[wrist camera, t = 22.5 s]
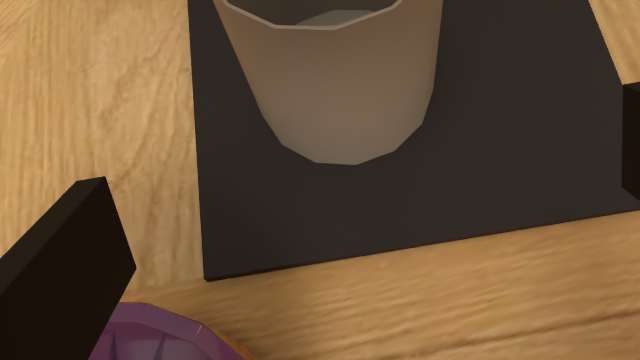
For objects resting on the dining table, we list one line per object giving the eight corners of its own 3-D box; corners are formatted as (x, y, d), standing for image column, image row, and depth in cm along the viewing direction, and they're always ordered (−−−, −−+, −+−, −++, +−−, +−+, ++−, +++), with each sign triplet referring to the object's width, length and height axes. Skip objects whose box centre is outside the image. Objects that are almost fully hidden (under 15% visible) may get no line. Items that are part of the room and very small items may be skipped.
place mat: (206, 282, 26) (203, 279, 26) (189, -2, 32) (186, -8, 32) (664, 206, 25) (669, 202, 24) (554, -72, 31) (556, -80, 31)
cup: (344, 200, 26) (316, 79, 17) (226, 94, 29) (148, -58, 20) (468, 77, 28) (504, -93, 19) (345, -11, 31) (323, -196, 22)
